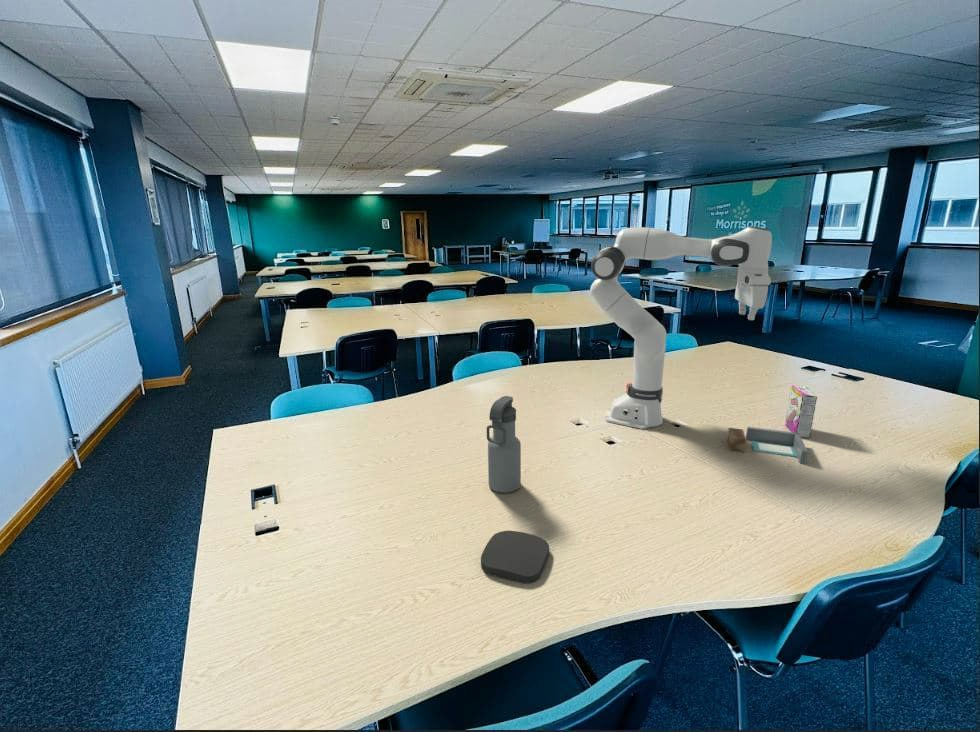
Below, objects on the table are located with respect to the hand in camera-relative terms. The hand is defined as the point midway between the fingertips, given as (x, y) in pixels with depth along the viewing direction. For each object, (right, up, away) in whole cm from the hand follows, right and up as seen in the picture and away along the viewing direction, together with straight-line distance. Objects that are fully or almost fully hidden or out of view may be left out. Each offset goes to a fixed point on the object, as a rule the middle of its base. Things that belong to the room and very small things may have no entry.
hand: (746, 317), depth 168 cm
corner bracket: (+9, -46, 0) cm, 47 cm away
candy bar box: (+26, -42, +14) cm, 51 cm away
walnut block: (-2, -45, +3) cm, 45 cm away
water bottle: (-84, -54, -20) cm, 102 cm away
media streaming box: (-82, -64, -51) cm, 116 cm away
